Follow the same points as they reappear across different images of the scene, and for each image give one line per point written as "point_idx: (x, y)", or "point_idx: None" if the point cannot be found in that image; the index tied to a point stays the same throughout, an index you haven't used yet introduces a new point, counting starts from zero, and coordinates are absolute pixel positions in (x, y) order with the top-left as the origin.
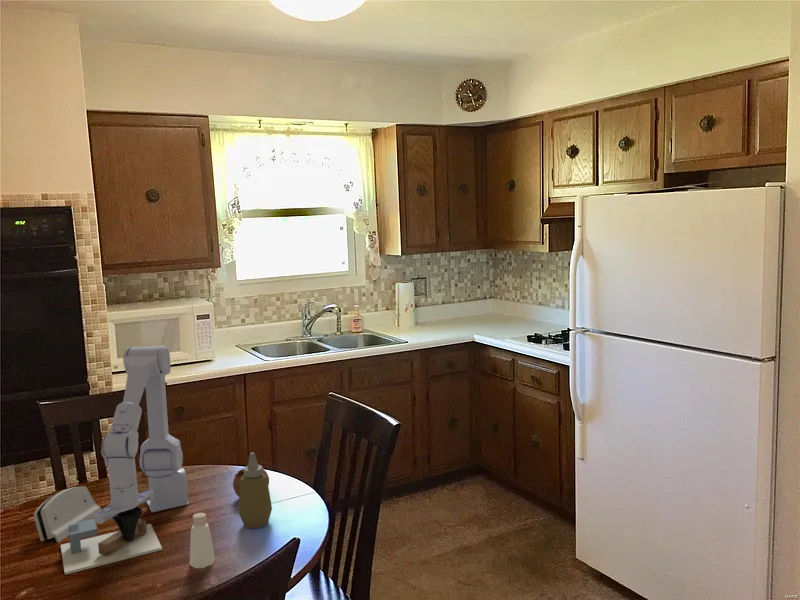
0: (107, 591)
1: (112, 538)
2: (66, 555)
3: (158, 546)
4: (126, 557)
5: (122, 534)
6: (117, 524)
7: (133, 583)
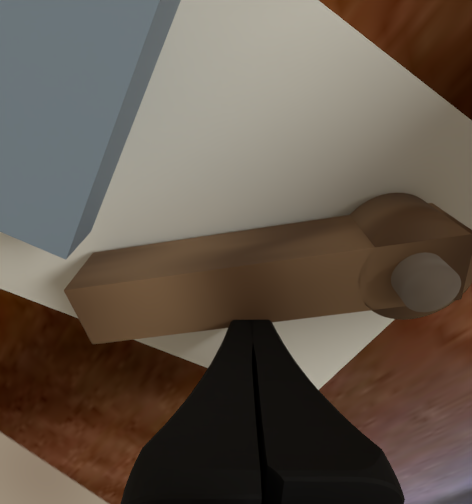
0: (19, 435)
1: (163, 311)
2: None
3: None
4: (176, 351)
5: (228, 329)
6: (198, 388)
7: (99, 455)
